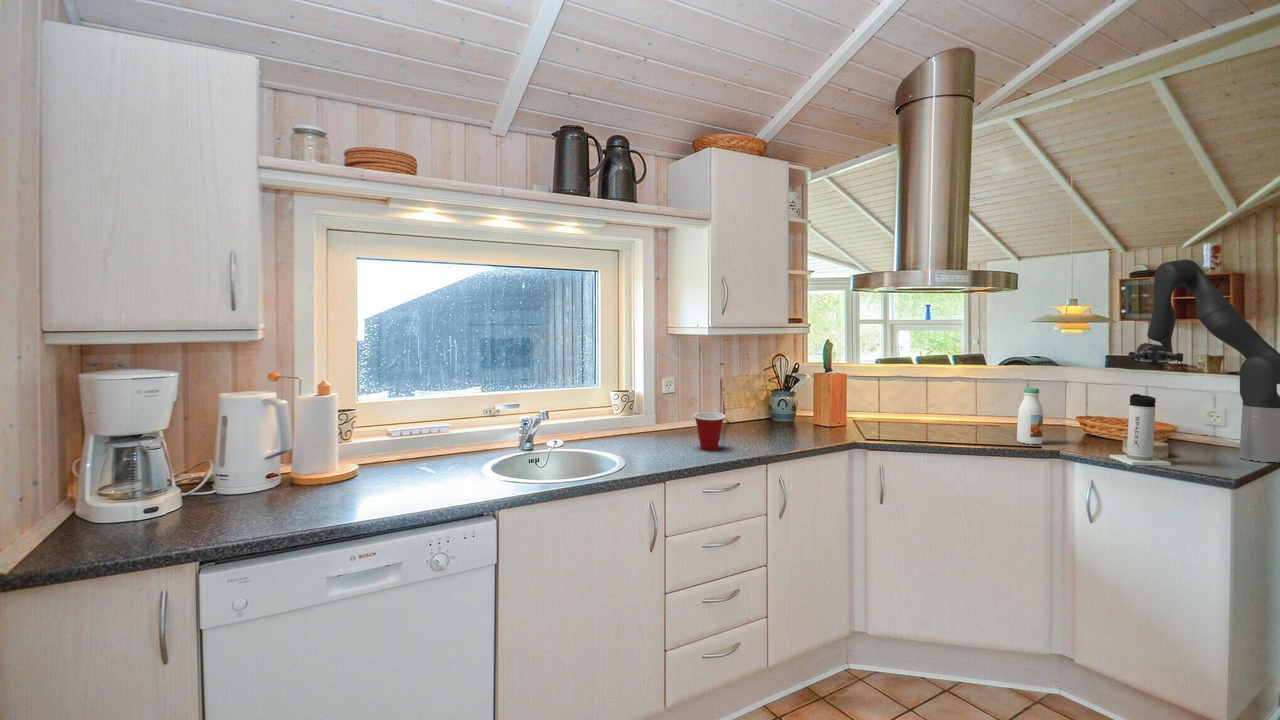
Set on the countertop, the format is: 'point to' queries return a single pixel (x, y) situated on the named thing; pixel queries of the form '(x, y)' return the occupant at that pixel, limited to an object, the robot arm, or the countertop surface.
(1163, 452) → the collar ring
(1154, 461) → the sage pad
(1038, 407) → the milk bottle
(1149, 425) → the travel mug
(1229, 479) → the countertop surface
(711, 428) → the plastic cup
